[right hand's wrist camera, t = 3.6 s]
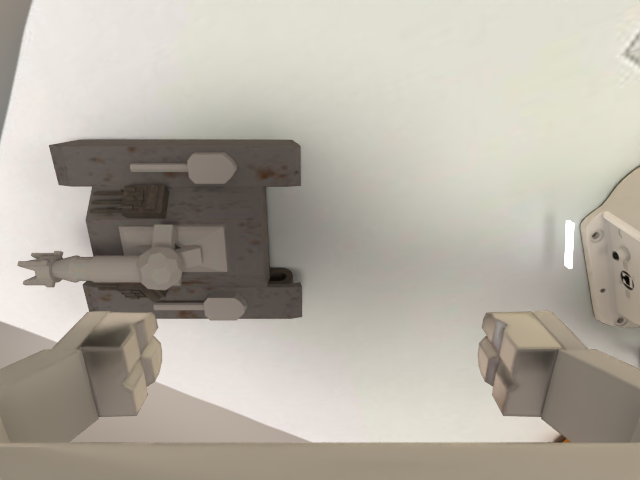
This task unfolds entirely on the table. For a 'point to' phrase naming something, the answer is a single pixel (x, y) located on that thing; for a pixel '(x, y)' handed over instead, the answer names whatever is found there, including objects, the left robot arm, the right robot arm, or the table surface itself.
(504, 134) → the table surface
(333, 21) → the table surface
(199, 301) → the toy
